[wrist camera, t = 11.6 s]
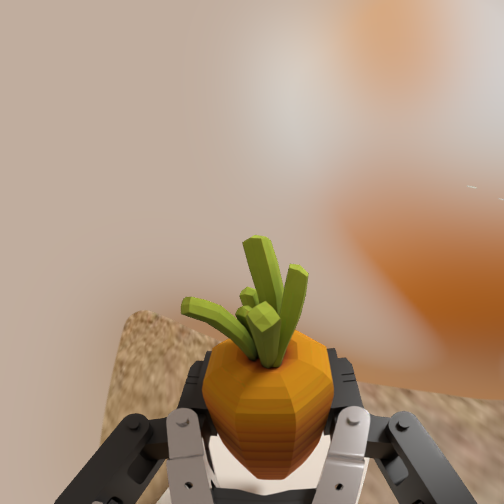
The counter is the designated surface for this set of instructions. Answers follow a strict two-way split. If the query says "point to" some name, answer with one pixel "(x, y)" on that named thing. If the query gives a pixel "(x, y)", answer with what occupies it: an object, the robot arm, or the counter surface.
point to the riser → (240, 478)
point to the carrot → (266, 370)
